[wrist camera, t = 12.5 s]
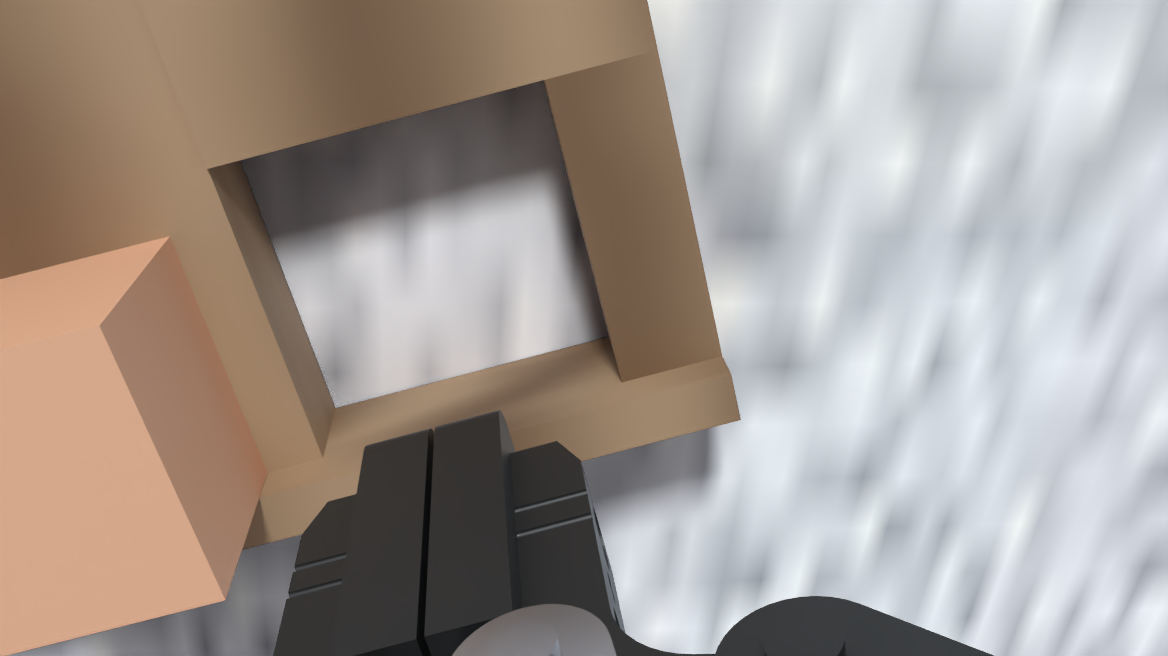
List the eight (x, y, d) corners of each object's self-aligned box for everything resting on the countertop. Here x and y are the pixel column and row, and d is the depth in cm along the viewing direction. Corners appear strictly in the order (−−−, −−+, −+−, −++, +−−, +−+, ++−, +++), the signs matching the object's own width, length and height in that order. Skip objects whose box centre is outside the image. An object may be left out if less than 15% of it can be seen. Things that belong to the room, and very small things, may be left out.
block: (169, 236, 19) (99, 325, 16) (267, 472, 21) (225, 600, 18) (-105, 305, 19) (-240, 411, 16) (19, 534, 21) (-75, 675, 18)
